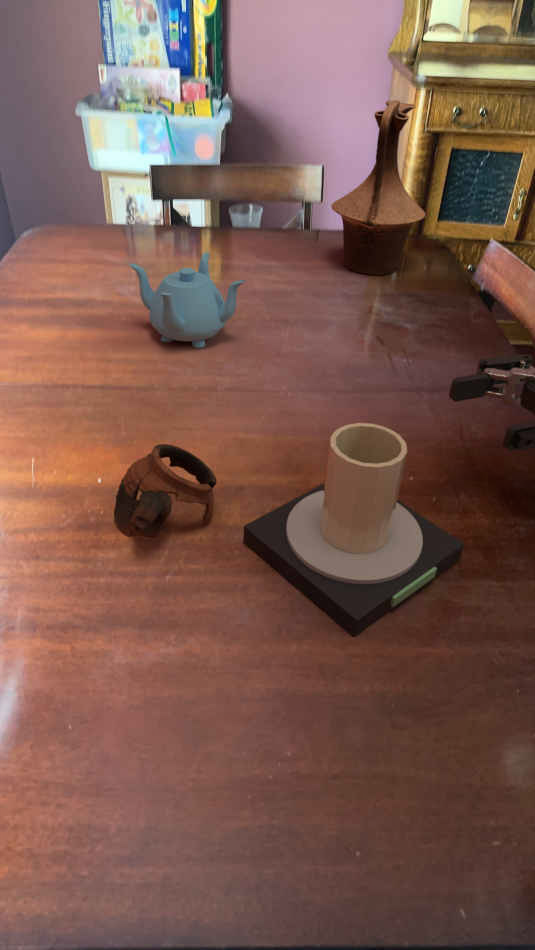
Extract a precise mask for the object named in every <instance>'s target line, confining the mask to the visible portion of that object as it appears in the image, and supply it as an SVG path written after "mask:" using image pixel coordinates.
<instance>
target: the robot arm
mask: <svg viewBox="0 0 535 950" xmlns="http://www.w3.org/2000/svg"><path fill="white" fill-rule="evenodd" d="M533 359H534V358H533V356H532V355H530V354H528V353H527V354H526V353H523V354H522V353H521V354H514V355H512V354H511V355H504V356H495V357H487V358H481V359H479V362H478V365H477V369H476V372H475V374H469V375H464V376H463V375H462V376H458V377H455V378H454V379H453V380H452V381H451V384H450V388H449V391H448V397H449V399H451V401H453V402H462V401H469V400H473V399H479V398H485V397H491V398H496V399H501V400H502V402H503V403H504V404H506V405H509V406H515V407H520V408H523V409H525V410H527V411H529V412H530V413H532V415H534V416H535V367H534V366H533V365H532V363H533ZM520 382H524V384H523V386H522V389H521V392H520V395H517V394H515V390H516V386H517V385H518V384H520ZM502 384H505V387H503V388H502V387H496V385H502ZM494 385H495V386H494ZM502 446H503V447H504V448H505V449H506V450H508V451H510V452H512V451H515V450H516V451H526V450H531V449H535V420H532V421H527V422H522V423H516V424H512V425H510V426H509V427H508V428H507V429H506V431H505V434H504V438H503V441H502Z"/></svg>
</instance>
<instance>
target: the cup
mask: <svg viewBox="0 0 535 950" xmlns="http://www.w3.org/2000/svg"><path fill="white" fill-rule="evenodd" d="M407 456H408V447H407V442H406V441H405V439H404V438H403V437H402V436H401V435H400V434H399V433H397V432H395V431H394V430H392V429H390V428H389V427H387V426H386V427H385V426H383V425H379V424H376V423H370V422H369V423H368V422H355V423H348V424H345V425H342V426H340V427H339V428H337V429H335V431H334V432H333V433H332V434H331V436H330V438H329V446H328V456H327V461H326V471H325V479H324V483H325V486H324V494H323V503H322V511H321V522H320V530H321V533H322V535H323V537H324V538H325V540H326V541H327V542H328V543H329V544H331V545H332V546H334V547H335V548H337V549H340V550H342V551H345V552H349V553H356V554H363V553H370V552H373V551H376V550H378V549H380V548H381V547H383V546H384V545H385V544H386V542H387V541H388V538H389V534H390V532H391V527H392V522H393V518H394V513H395V508H396V503H397V500H398V497H399V493H400V489H401V484H402V478H403V474H404V470H405V465H406V460H407Z"/></svg>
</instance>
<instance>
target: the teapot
mask: <svg viewBox="0 0 535 950" xmlns="http://www.w3.org/2000/svg"><path fill="white" fill-rule="evenodd" d="M209 261H210V253H209V251H206V252H205V251H204V252H203V254H202V255H201V257H200V261H199V264H198V269H197V271H196V270H195V269H194V268H192V267H182V268H180V269H179V270H178V271H175V272H172V273H169V274H167V275H166V276H165V277H164V278H163V279H162V280H161V281H160V283H159V285H158V287H157V288H156V290H155V291H154V290H153V289H152V287H151V285H150V282H149V277H148V274H147V272H146V270H145V269H144V268H143V267H142V266H141V265H139V264H136V263H132V262H130V263H128V264H129V266H130V267H131V268H132V269H133V270H134V271H135V273H136V275H137V277H138V282H139V294H140V299H141V301H142V304H143V305H144V306H145V307H146V309H148V310H149V312H148V319H149V323H150V324H151V326H152V327H153V328H154V329H155V330H156V332H158V333H159V334H160V335H162V336H161V338H160V341H161V342H163V343H172V342H174V341H179V342H191V346H192V347H193V348H196V349H197V348H198V349H200V348H204V347H206V342H205V340H207V339H210V338H212V337H214V336H216V335H217V334H218V333H219V332H220V331H221V330H222V329H223V328H224V326H225V325H226V324H227V321H229V320H230V319H231V318H232V317H233V316H234V314H235V312H236V309H237V293H238V289H239V287H240V286H241V285H242V284H244V283H245V282H246V279H240V280H235V281H233V282H231V283H230V284H229V286H228V289H227V295H226V300H225V301H224V298H223V296H222V294H221V292H220V290H219V288H218V287H217V285H216V284H215V282H214V281H213V280H212V279H211V276H210V269H209Z"/></svg>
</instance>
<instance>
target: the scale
mask: <svg viewBox="0 0 535 950" xmlns="http://www.w3.org/2000/svg"><path fill="white" fill-rule="evenodd" d="M324 486H325V482H323V483H322V484H320V485H318V486H316V487H314V488H312V489H310V490H308V491H307V492H305V493H303V494H301V495H299V496H298V497H295V498H294V499H292V500H289V501H288V502H286V503H284V504H282V505H280V506H278V507H277V508H275V509H273V510H271V511H269V512H267V513H265V514H263V515H261V516H260V517H258V518H256V519H254V520H251V521H250V522H249V523H247V524H245V525H244V526H243V543H244V544H245V545H246V546H247V547H248V548H249V549H251V550H252V552H254V553H255V554H256V555H258V556H259V557H260V558H261V559H262V560H263V561H265V562H266V563H267V565H269V566H270V567H272V568H273V569H274V570H275V571H276V572H277V573H279V574H280V575H281V576H282V577H283V578H284V579H286V580H287V581H288V582H289V583H290V584H291V585H293V586H294V587H295V588H296V589H297V590H298V591H299V592H301V593H302V594H303V595H304V596H305V597H306V598H307V599H309V600H310V601H311V602H312V603H313V604H315V605H316V606H317V607H318V608H319V609H321V611H323V612H324V613H325V614H326V615H328V616H329V617H330V618H331V619H332V620H333V621H334V622H336V624H338V625H339V626H340V627H341V628H343V629H344V630H345V631H346V632H348V634H350V635H351V636H352V637H353V638H355V637H356V636H357V635H359V634H360V633H362V632H363V631H364V630H366V629H367V628H368V627H370V626H372V624H374V623H375V622H376V621H378V620H379V619H381V618H382V617H384V616H385V615H386V614H388V613H389V612H390V611H392V610H393V609H394V608H396V607H397V606H399V605H400V604H401V603H402V602H404V601H406V600H407V599H409V598H410V597H411V596H412V595H414V594H415V593H416V592H418V591H419V590H420V589H422V588H423V587H425V586H426V585H427V584H429V583H430V582H432V581H433V580H434V579H436V578H437V577H438V576H440V575H441V574H443V573H444V572H445V571H447V570H448V569H449V568H451V567H452V566H453V565H455V564H456V563H458V562H459V561H460V560H461V556H462V553H463V550H464V546H465V543H464V542H462V541H460V540H459V539H458V538H456V537H454V535H452V534H450V533H449V532H447V531H446V530H444V529H443V528H441V527H440V526H438V525H436V524H435V523H434V522H432V521H431V520H429V519H428V518H426V517H424V516H423V515H421V514H420V513H418V512H417V511H415V510H414V509H412V508H410V507H409V506H408V505H406V504H404V503H403V502H401V501H400V500H398V499H397V503H396V508H395V513H394V518H393V522H392V527H391V532H390V534H389V538H388V541H387V542H386V544H385V545H384V546H383V547H381V548H380V549H378V550H376V551H373V552H370V553H363V554H356V553H349V552H345V551H342V550H340V549H337V548H335V547H334V546H332V545H331V544H329V543H328V542H327V541H326V540H325V538H324V537H323V535H322V533H321V530H320V522H321V511H322V503H323V494H324Z"/></svg>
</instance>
